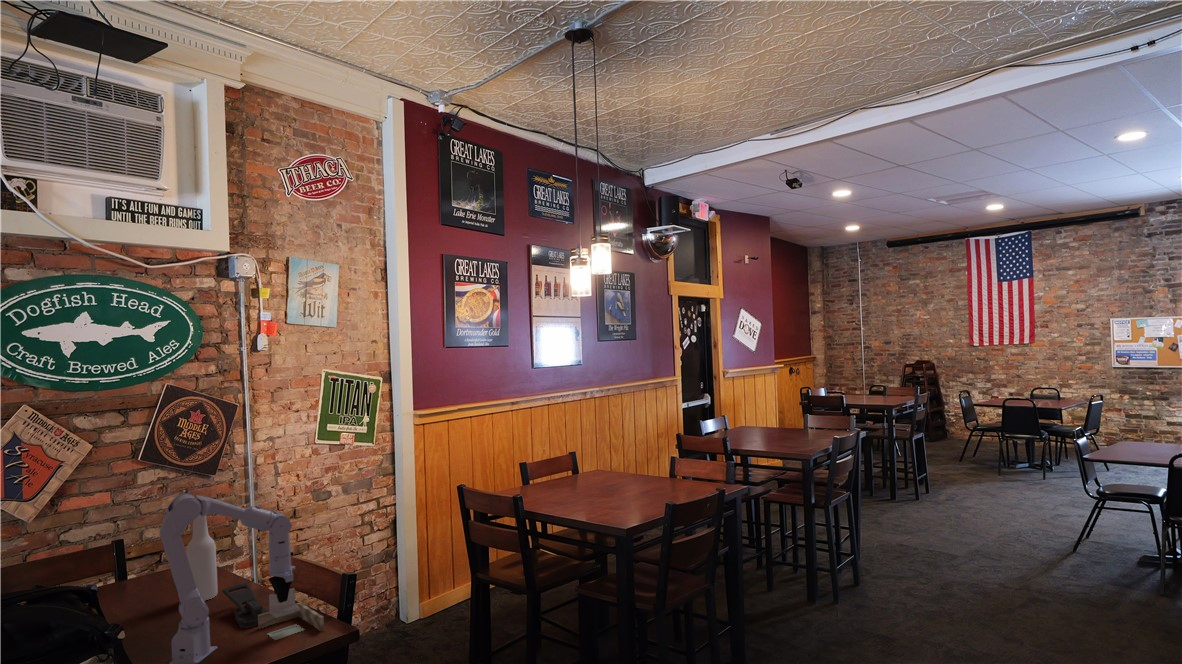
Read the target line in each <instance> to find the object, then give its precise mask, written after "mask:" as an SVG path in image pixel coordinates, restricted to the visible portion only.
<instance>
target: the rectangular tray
mask: <svg viewBox="0 0 1182 664" xmlns="http://www.w3.org/2000/svg"><path fill="white" fill-rule="evenodd" d="M297 624H298V623H295V624H292V625H289V626H286V627H283V628H280V629H277V630H274V631H270V632H268V633H266V635H267V636H268V635H269V636H268V637H269V638H271V639H272V640H273V639H274V640H273V641H277V640H280V639H284V638H287V637H290V636H293V635H295V633H296V634H298V632H299V633H301V631H302V632H304V630H305V631H306V629H305V628H303V627H302V626H301V625H299V624H298V625H297ZM296 626H297V627H296ZM301 627H302V628H301Z"/></svg>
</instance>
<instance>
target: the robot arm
mask: <svg viewBox="0 0 1182 664" xmlns="http://www.w3.org/2000/svg"><path fill="white" fill-rule="evenodd" d="M199 514H201V516H205V515H206V516H207V515H211V514H215V515H219V516H220V515H221V516H223V517H227V518H232V519H235V520H240V522H241V523H240V524H241V525H242V526H244V527H248V528H251V529H256V530H259V531H262V532H266V531H267V532H268V552H269V565H268V574H269V576H270V577H269V578H268V581H269V582H270V585H271V586H272V589H273V591H274V593H277V596H278V600H279V603H282V602H285V601H287V599H288V594H289V589H291V587H292V583H293V581H294V578H295V577H294V573H293V571H294V570H296V566H295V565H292V559H291V554H292V553H291V538H290V531H291V529H292V527H293V524H292V523H291V520H290V518H289V517H288V516H286V515H284V514H282V513H281V512H280V511H276V510H272V511H270V510H268V509H264V508H262V506H261V505H257V504H256V505H255V506H253V505H250V506H248V507H245V508H243V507H240V506H237V505H234V504H232V503H228V502H224V501H222V500H219V499H216V498H212V497H208V496H204V495H197V494H196V495H193V494H191V493H181V494H179V495H177V496H175V497H174V499H172V501H171V502H170V503H169V505H168V506H167V508H166V512H165V515H164V518H163V521H162V523H161V525H160V528H159V530H158V531H159V537H160V540H161V543H162V545H163V550H164V552H165V555H166V558H167V562H168V566H169V568H170V571H171V575H172V578H173V581H174V584H175V587H176V591H177V594H178V599H179V605H178V612H179V614H180V616H181V620H180V622H179V623H178V629H177V632H176V633H175V635H173V637H172V639H171V643H170V644H171V645H170V646H171V661H169V663H168V664H199V663H200V662H202V661H203V660H204V659H206V658H207V657H208V656H209V655H211V654H212V653H213V652H215V651H216V650H217V649H218V646H216V645H215V646H211V634H210V633H211V631H210V630H211V629H210V628H211V627H210V617H209V615H210V609H209V607H208V605H207V604H206V601H204V599H203V597H202V596H200V594H199V592H198V589H197V586H196V583H195V579H194V576H193V573H192V570H191V566H190V563H189V560H188V557H187V553H186V547H185V544H184V540H183V538H182V533H183V532H184V530H185V529H186V528H187V526H188V525H189V524H191V522H192V523H193V520H194V519H195V518H197V517H198V516H199Z"/></svg>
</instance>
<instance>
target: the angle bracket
mask: <svg viewBox="0 0 1182 664" xmlns="http://www.w3.org/2000/svg"><path fill="white" fill-rule="evenodd" d="M268 602H269V603H268V606H269V609H268V610H270V614H271V615H272V616H274V617H275V618H278V617H281V616H284V615H287V614H291V613H294V612H297V611H301V610H300V607H299V606H298V605H296V589H295V588H294V587H293V588H290V589H289V594H288V599H287V601H285V602H282V603H279V600H278V596H277V593H275V592H274V593H271V594H268Z"/></svg>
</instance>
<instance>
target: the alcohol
mask: <svg viewBox="0 0 1182 664" xmlns="http://www.w3.org/2000/svg"><path fill="white" fill-rule="evenodd" d="M192 523H193V524H192V538H191V540H190V541H189V543H188V544H187V545H186V548H185V550H186V553H187V557H188V560H189V563H190V566H191V570H192V573H193V576H194V579H195V583H196V586H197V589H198V592H199V594H200V596H202V597H203V599H204V601H205V602H207V601H206V600H208V601H210V600H209V599H211V600H213V599H215V598H216V597H217V596H218V593H219V591H218V590H219V587H218V586H219V585H218V568H217V567H218V565H217V545H216V542H215V540H214V538H212V537H211V536H210V533H209V529H208V528H209V527H208V520H207V515H205V516H201V514H199V516H198V517H197V518H195V519H194V520H193V521H192ZM215 596H216V597H215ZM214 597H215V598H214ZM212 598H213V599H212Z"/></svg>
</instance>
